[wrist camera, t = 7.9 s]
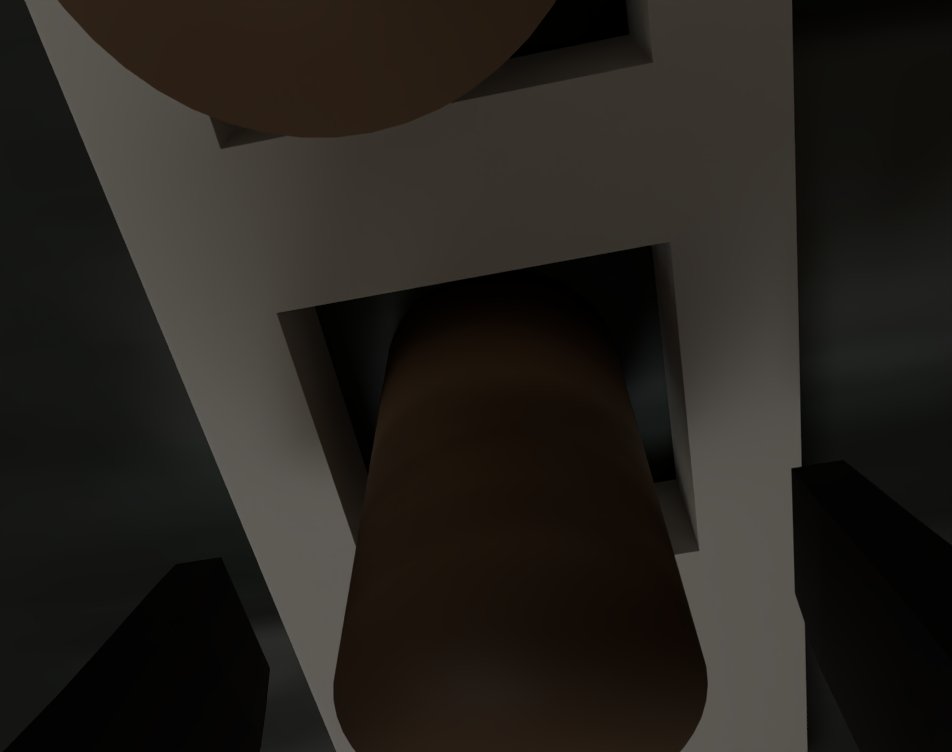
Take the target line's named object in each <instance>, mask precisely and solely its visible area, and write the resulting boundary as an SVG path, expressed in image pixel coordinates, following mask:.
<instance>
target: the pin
mask: <svg viewBox="0 0 952 752" xmlns="http://www.w3.org/2000/svg"><path fill="white" fill-rule="evenodd" d="M58 1H59V2H60V4H61V5H62V7H63V8H64V9H65V10H66V11H67V12H68V13H69V14H70V15H71V16H72V17H73V19H74V20H75V21H76V22H77V23H78V24H79V25H80V26H81V27H82V28H83V30H84V31H85V32H86V33H87V34H88V35H89V36H90V37H91V38H92V39H93V40H94V41H95V42H96V43H97V44H98V45H100V46H101V47H102V48H103V49H104V50H105V51H106V52H108V53H109V54H110V55H111V56H112V57H113V58H114V59H115V60H117V61H118V62H119V63H120V64H121V65H122V66H123V67H125V68H126V69H128V70H129V71H130V72H132V73H133V74H135V75H136V76H138V77H139V78H140V79H142V80H143V81H145V82H146V83H148V84H149V85H150V86H152V87H153V88H155V89H156V90H158V91H159V92H161V93H163V94H165V95H167V96H169V97H171V98H172V99H174V100H176V101H178V102H180V103H182V104H183V105H185V106H187V107H189V108H191V109H193V110H195V111H198V112H200V113H203V114H205V115H208V116H210V117H213V118H215V119H218V120H221V121H223V122H226V123H228V124H232V125H236V126H240V127H244V128H247V129H251V130H255V131H259V132H263V133H269V134H277V135H284V136H292V137H300V138H336V137H344V136H351V135H359V134H366V133H373V132H376V131H380V130H384V129H387V128H391V127H394V126H398V125H402V124H405V123H408V122H410V121H413V120H415V119H417V118H420V117H422V116H424V115H427V114H429V113H431V112H434V111H436V110H438V109H441V108H442V107H444V106H446V105H447V104H449V103H451V102H452V101H454V100H456V99H457V98H459V97H461V96H462V95H464V94H466V93H467V92H469V91H471V90H472V89H473V88H475V87H476V86H477V85H479V84H480V83H481V82H482V81H484V80H485V79H486V78H487V77H489V76H490V75H491V74H492V73H494V72H495V71H496V70H497V69H499V68H500V67H501V66H502V65H503V64H504V63H505V62H506V61H507V60H508V59H509V58H510V57H511V56H512V55H513V54H514V53H515V52H516V51H517V50H518V49H519V48H520V47H521V46H522V44H523V43H524V42H525V41H526V40H527V39H528V38H529V37H530V36H531V34H532V33H533V32H534V30H535V29H536V28H537V26H538V25H539V24H540V22H541V21H542V20H543V18H544V17H545V16H546V14H547V13H548V12H549V10H550V9H551V8H552V6H553V5H554V3H555V1H556V0H58Z"/></svg>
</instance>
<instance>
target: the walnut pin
mask: <svg viewBox="0 0 952 752" xmlns="http://www.w3.org/2000/svg"><path fill="white" fill-rule="evenodd" d="M707 689H708V678H707V667H706V663H705V660H704V656H703V653H702V649H701V646H700V642H699V639H698V635H697V632H696V629H695V625H694V622H693V618H692V615H691V611H690V608H689V604H688V601H687V597H686V594H685V590H684V587H683V583H682V580H681V576H680V573H679V569H678V566H677V562H676V559H675V555H674V552H673V548H672V545H671V541H670V538H669V534H668V531H667V527H666V524H665V520H664V517H663V513H662V510H661V506H660V503H659V499H658V496H657V492H656V489H655V485H654V482H653V478H652V475H651V471H650V468H649V464H648V461H647V457H646V454H645V450H644V447H643V443H642V440H641V436H640V433H639V429H638V426H637V422H636V419H635V415H634V412H633V408H632V405H631V402H630V398H629V395H628V391H627V388H626V384H625V381H624V377H623V374H622V370H621V367H620V363H619V360H618V356H617V353H616V349H615V346H614V342H613V339H612V336H611V333H610V331H609V329H608V327H607V325H606V323H605V321H604V320H603V318H602V317H601V315H600V314H599V312H598V311H597V310H596V309H595V308H594V307H593V306H592V304H591V303H590V302H589V301H588V300H587V299H585V298H584V297H583V296H582V295H581V294H580V293H578V292H577V291H576V290H574V289H572V288H571V287H569V286H568V285H566V284H564V283H562V282H560V281H558V280H556V279H554V278H552V277H549V276H546V275H543V274H540V273H536V272H531V271H526V270H521V269H517V270H511V271H506V272H500V273H495V274H489V275H484V276H478V277H473V278H467V279H462V280H456V281H450V282H445V283H443V284H441V285H440V286H438V287H436V288H435V289H433V290H431V291H430V292H429V293H427V294H426V295H425V296H424V297H423V298H421V299H420V300H419V301H418V302H417V303H416V304H415V305H414V306H413V307H412V308H411V309H410V310H409V311H408V313H407V314H406V316H405V317H404V318H403V320H402V321H401V323H400V325H399V327H398V328H397V330H396V332H395V334H394V337H393V340H392V343H391V346H390V349H389V355H388V360H387V366H386V372H385V378H384V384H383V390H382V396H381V402H380V408H379V414H378V420H377V426H376V431H375V437H374V443H373V449H372V455H371V461H370V467H369V473H368V479H367V485H366V491H365V497H364V503H363V509H362V515H361V521H360V527H359V533H358V539H357V545H356V550H355V556H354V562H353V568H352V574H351V580H350V586H349V592H348V598H347V604H346V610H345V616H344V622H343V628H342V634H341V640H340V646H339V652H338V658H337V664H336V669H335V675H334V681H333V701H334V706H335V711H336V716H337V719H338V721H339V724H340V726H341V729H342V731H343V733H344V735H345V737H346V738H347V740H348V742H349V743H350V745H351V747H352V748H353V749H354V750H355V752H680V751H681V750H682V749H683V748H684V747H685V745H686V744H687V742H688V741H689V740H690V738H691V737H692V735H693V734H694V732H695V730H696V728H697V726H698V724H699V722H700V720H701V718H702V714H703V711H704V707H705V704H706V700H707Z"/></svg>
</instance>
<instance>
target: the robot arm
mask: <svg viewBox="0 0 952 752" xmlns="http://www.w3.org/2000/svg"><path fill="white" fill-rule="evenodd" d="M791 477H792V513H793V549H794V585H795V595H796V598H797V601H798V604H799V607H800V610H801V613H802V616H803V619H804V622H805V625H806V628H807V631H808V634H809V637H810V640H811V643H812V646H813V648H814V651H815V654H816V657H817V660H818V662H819V665H820V668H821V670H822V672H823V675H824V677H825V679H826V681H827V683H828V685H829V687H830V689H831V692H832V694H833V696H834V698H835V700H836V702H837V704H838V706H839V708H840V710H841V712H842V714H843V717H844V719H845V721H846V723H847V725H848V727H849V729H850V731H851V733H852V735H853V737H854V739H855V741H856V743H857V745H858V747H859V750H860V752H952V545H951V544H949V543H948V542H947V541H945V540H944V539H943V538H941V537H940V536H939V535H938V534H936V533H935V532H934V531H932V530H931V529H930V528H928V527H927V526H926V525H924V524H923V523H922V522H921V521H919V520H918V519H917V518H916V517H914V516H913V515H912V514H910V513H909V512H908V511H907V510H905V509H904V508H903V507H902V506H900V505H899V504H898V503H897V502H895V501H894V500H893V499H892V498H890V497H889V496H888V495H887V494H885V493H884V492H883V491H882V490H880V489H879V488H878V487H877V486H875V485H874V484H873V483H872V482H870V481H869V480H868V479H867V478H865V477H864V476H863V475H862V474H860V473H859V472H858V471H857V470H855V469H854V468H853V467H852V466H850V465H849V464H847V463H846V462H845V461H843V460H841V461H834V462H828V463H821V464H815V465H809V466H802V467H796V468H791ZM269 672H270V668H269V665H268V663H267V661H266V658H265V656H264V654H263V652H262V649H261V647H260V645H259V642H258V640H257V638H256V636H255V633H254V631H253V629H252V627H251V624H250V622H249V620H248V617H247V615H246V613H245V611H244V608H243V606H242V604H241V602H240V599H239V597H238V595H237V592H236V590H235V588H234V586H233V583H232V581H231V579H230V576H229V574H228V572H227V570H226V567H225V565H224V563H223V561H222V558H221V557H220V558H213V559H207V560H200V561H194V562H188V563H181V564H176V565H175V566H174V567H173V568H172V569H171V570H170V571H169V572H168V573H167V574H166V575H165V576H164V577H163V578H162V579H161V580H160V582H159V583H158V584H157V585H156V586H155V587H154V588H153V589H152V590H151V591H150V593H149V594H148V595H147V596H146V597H145V598H144V599H143V600H142V602H141V603H140V604H139V605H138V606H137V607H136V608H135V609H134V611H133V612H132V613H131V614H130V615H129V616H128V617H127V619H126V620H125V621H124V622H123V623H122V624H121V625H120V626H119V628H118V629H117V630H116V631H115V632H114V633H113V634H112V636H111V637H110V638H109V639H108V640H107V641H106V642H105V643H104V645H103V646H102V647H101V648H100V649H99V650H98V651H97V652H96V653H95V655H94V656H93V657H92V658H91V659H90V660H89V661H88V662H87V663H86V665H85V666H84V667H83V668H82V669H81V670H80V671H79V672H78V673H77V675H76V676H75V677H74V678H73V679H72V680H71V681H70V682H69V683H68V685H67V686H66V687H65V688H64V689H63V690H62V691H61V692H60V693H59V694H58V695H57V696H56V698H55V699H54V700H53V701H52V702H51V703H50V704H49V705H48V706H47V707H46V708H45V709H44V710H43V711H42V712H41V713H40V714H39V715H38V716H37V717H36V718H35V719H34V720H33V721H32V722H31V723H30V724H29V725H28V726H27V727H26V728H25V730H24V731H23V732H22V733H21V734H20V735H19V736H18V737H17V738H16V739H15V740H14V741H13V742H12V743H11V744H10V745H9V746H8V747H7V748H6V749H5V750H4V751H3V752H259V751H260V747H261V741H262V734H263V726H264V719H265V711H266V702H267V692H268V682H269Z"/></svg>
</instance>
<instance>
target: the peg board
mask: <svg viewBox="0 0 952 752" xmlns="http://www.w3.org/2000/svg"><path fill="white" fill-rule="evenodd" d="M25 2H26V4H27V7H28V9H29V11H30V14H31V16H32V19H33V21H34V24H35V26H36V28H37V31H38V33H39V36H40V38H41V40H42V43H43V45H44V48H45V50H46V52H47V55H48V57H49V60H50V62H51V65H52V67H53V69H54V72H55V74H56V77H57V79H58V81H59V84H60V86H61V89H62V91H63V93H64V96H65V98H66V101H67V103H68V106H69V108H70V110H71V113H72V115H73V118H74V120H75V122H76V125H77V127H78V130H79V132H80V134H81V137H82V139H83V142H84V144H85V147H86V149H87V151H88V154H89V156H90V159H91V161H92V163H93V166H94V168H95V171H96V173H97V175H98V178H99V180H100V183H101V185H102V187H103V190H104V192H105V195H106V197H107V200H108V202H109V204H110V207H111V209H112V212H113V214H114V216H115V219H116V221H117V224H118V226H119V228H120V231H121V233H122V236H123V238H124V241H125V243H126V245H127V248H128V250H129V253H130V255H131V257H132V260H133V262H134V265H135V267H136V269H137V272H138V274H139V277H140V279H141V282H142V284H143V286H144V289H145V291H146V294H147V296H148V298H149V301H150V303H151V306H152V308H153V310H154V313H155V315H156V318H157V320H158V323H159V325H160V327H161V330H162V332H163V335H164V337H165V339H166V342H167V344H168V347H169V349H170V351H171V354H172V356H173V359H174V361H175V364H176V366H177V368H178V371H179V373H180V376H181V378H182V380H183V383H184V385H185V388H186V390H187V392H188V395H189V397H190V400H191V402H192V405H193V407H194V409H195V412H196V414H197V417H198V419H199V421H200V424H201V426H202V429H203V431H204V433H205V436H206V438H207V441H208V443H209V445H210V448H211V450H212V453H213V455H214V458H215V460H216V462H217V465H218V467H219V470H220V472H221V474H222V477H223V479H224V482H225V484H226V486H227V489H228V491H229V494H230V496H231V499H232V501H233V503H234V506H235V508H236V511H237V513H238V515H239V518H240V520H241V523H242V525H243V527H244V530H245V532H246V535H247V537H248V540H249V542H250V544H251V547H252V549H253V552H254V554H255V556H256V559H257V561H258V564H259V566H260V568H261V571H262V573H263V576H264V578H265V581H266V583H267V585H268V588H269V590H270V593H271V595H272V597H273V600H274V602H275V605H276V607H277V609H278V612H279V614H280V617H281V619H282V622H283V624H284V626H285V629H286V631H287V634H288V636H289V638H290V641H291V643H292V646H293V648H294V650H295V653H296V655H297V658H298V660H299V662H300V665H301V667H302V670H303V672H304V675H305V677H306V679H307V682H308V684H309V687H310V689H311V691H312V694H313V696H314V699H315V701H316V703H317V706H318V708H319V711H320V713H321V716H322V718H323V720H324V723H325V725H326V728H327V730H328V732H329V735H330V737H331V740H332V742H333V744H334V747H335V749H336V752H355V750H354V749H353V748H352V747H351V745H350V743H349V742H348V740H347V738H346V737H345V735H344V733H343V731H342V729H341V726H340V724H339V721H338V719H337V716H336V711H335V706H334V701H333V681H334V675H335V669H336V664H337V658H338V652H339V646H340V640H341V634H342V628H343V622H344V616H345V610H346V604H347V598H348V592H349V586H350V580H351V574H352V568H353V562H354V556H355V550H356V545H357V539H358V533H359V527H360V521H361V515H362V509H363V503H364V497H365V491H366V485H367V479H368V474H367V471H366V467H365V464H364V461H363V458H362V455H361V452H360V448H359V445H358V442H357V439H356V436H355V432H354V429H353V426H352V423H351V420H350V417H349V413H348V410H347V407H346V404H345V401H344V398H343V394H342V391H341V388H340V385H339V382H338V379H337V375H336V372H335V369H334V366H333V363H332V360H331V356H330V353H329V350H328V347H327V344H326V341H325V337H324V334H323V331H322V328H321V325H320V322H319V318H318V315H317V312H316V309H315V306H318V305H324V304H329V303H335V302H340V301H346V300H351V299H357V298H362V297H368V296H373V295H379V294H384V293H390V292H395V291H401V290H406V289H412V288H417V287H423V286H428V285H434V284H439V283H445V282H450V281H456V280H462V279H467V278H473V277H478V276H484V275H489V274H495V273H500V272H506V271H511V270H517V269H522V268H528V267H533V266H539V265H544V264H550V263H555V262H561V261H566V260H572V259H577V258H583V257H588V256H594V255H599V254H605V253H610V252H616V251H621V250H627V249H632V248H638V247H643V246H649V245H652V254H653V264H654V273H655V283H656V292H657V301H658V311H659V320H660V330H661V339H662V348H663V358H664V367H665V377H666V386H667V396H668V405H669V414H670V424H671V433H672V443H673V452H674V461H675V471H676V479H675V480H668V481H662V482H656V483H654V485H655V489H656V492H657V496H658V499H659V503H660V506H661V510H662V513H663V517H664V520H665V524H666V527H667V531H668V534H669V538H670V541H671V545H672V548H673V552H674V555H675V559H676V562H677V566H678V569H679V573H680V576H681V580H682V583H683V587H684V590H685V594H686V597H687V601H688V604H689V608H690V611H691V615H692V618H693V622H694V625H695V629H696V632H697V635H698V639H699V642H700V646H701V649H702V653H703V656H704V660H705V663H706V667H707V678H708V689H707V700H706V704H705V707H704V711H703V714H702V718H701V720H700V722H699V724H698V726H697V728H696V730H695V732H694V734H693V735H692V737H691V738H690V740H689V741H688V742H687V744H686V745H685V747H684V748H683V749H682V750H681V751H680V752H807V707H806V658H805V622H804V619H803V616H802V613H801V610H800V607H799V604H798V601H797V598H796V595H795V585H794V549H793V513H792V477H791V468H796V467H802V465H801V417H800V368H799V320H798V272H797V223H796V175H795V127H794V78H793V30H792V0H626V9H627V19H628V28H629V34H628V35H623V36H618V37H614V38H609V39H604V40H599V41H594V42H589V43H584V44H579V45H574V46H569V47H565V48H560V49H555V50H550V51H545V52H540V53H535V54H530V55H525V56H520V57H515V58H511V59H508V60H507V61H506V62H505V63H504V64H503V65H502V66H501V67H500V68H499V69H497V70H496V71H495V72H494V73H492V74H491V75H490V76H489V77H487V78H486V79H485V80H484V81H482V82H481V83H480V84H479V85H477V86H476V87H475V88H473V89H472V90H471V91H469V92H467V93H466V94H464V95H462V96H461V97H459V98H457V99H456V100H454V101H452V102H451V103H449V104H447V105H446V106H444V107H442V108H441V109H438V110H436V111H434V112H431V113H429V114H427V115H424V116H422V117H420V118H417V119H415V120H413V121H410V122H408V123H405V124H402V125H398V126H394V127H391V128H387V129H384V130H380V131H376V132H373V133H366V134H359V135H351V136H344V137H336V138H300V137H292V136H284V135H277V134H269V133H263V132H259V131H255V130H251V129H247V128H244V127H240V126H236V125H232V124H228V123H226V122H223V121H221V120H218V119H215V118H213V117H210V116H208V115H205V114H203V113H200V112H198V111H195V110H193V109H191V108H189V107H187V106H185V105H183V104H182V103H180V102H178V101H176V100H174V99H172V98H171V97H169V96H167V95H165V94H163V93H161V92H159V91H158V90H156V89H155V88H153V87H152V86H150V85H149V84H148V83H146V82H145V81H143V80H142V79H140V78H139V77H138V76H136V75H135V74H133V73H132V72H130V71H129V70H128V69H126V68H125V67H123V66H122V65H121V64H120V63H119V62H118V61H117V60H115V59H114V58H113V57H112V56H111V55H110V54H109V53H108V52H106V51H105V50H104V49H103V48H102V47H101V46H100V45H98V44H97V43H96V42H95V41H94V40H93V39H92V38H91V37H90V36H89V35H88V34H87V33H86V32H85V31H84V30H83V28H82V27H81V26H80V25H79V24H78V23H77V22H76V21H75V20H74V19H73V17H72V16H71V15H70V14H69V13H68V12H67V11H66V10H65V9H64V8H63V7H62V5H61V4H60V2H59V1H58V0H25Z"/></svg>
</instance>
